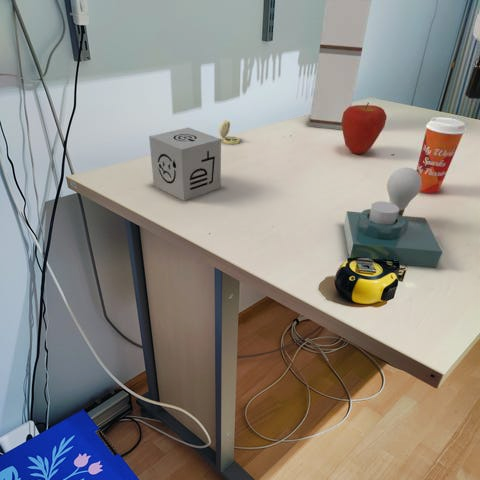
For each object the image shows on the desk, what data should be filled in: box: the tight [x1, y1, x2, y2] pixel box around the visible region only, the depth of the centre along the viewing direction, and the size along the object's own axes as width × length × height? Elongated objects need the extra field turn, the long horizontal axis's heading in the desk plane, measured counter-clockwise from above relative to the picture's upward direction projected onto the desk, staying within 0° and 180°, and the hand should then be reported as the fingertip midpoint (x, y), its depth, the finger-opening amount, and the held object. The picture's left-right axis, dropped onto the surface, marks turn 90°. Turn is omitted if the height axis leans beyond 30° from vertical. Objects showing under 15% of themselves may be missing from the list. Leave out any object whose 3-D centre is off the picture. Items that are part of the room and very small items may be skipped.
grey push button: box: [369, 200, 399, 225], centre depth 70 cm, size 4×4×2 cm
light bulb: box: [386, 166, 422, 216], centre depth 78 cm, size 6×6×10 cm
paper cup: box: [415, 116, 467, 195], centre depth 90 cm, size 8×8×14 cm
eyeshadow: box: [218, 120, 240, 145], centre depth 113 cm, size 4×5×5 cm
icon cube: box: [148, 127, 222, 202], centre depth 86 cm, size 10×10×10 cm
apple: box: [342, 102, 387, 155], centre depth 108 cm, size 11×11×12 cm
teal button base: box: [343, 208, 443, 268], centre depth 72 cm, size 14×12×5 cm
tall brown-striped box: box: [308, 0, 373, 131], centre depth 121 cm, size 11×11×35 cm
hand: (476, 97), depth 66 cm, fingers closed
